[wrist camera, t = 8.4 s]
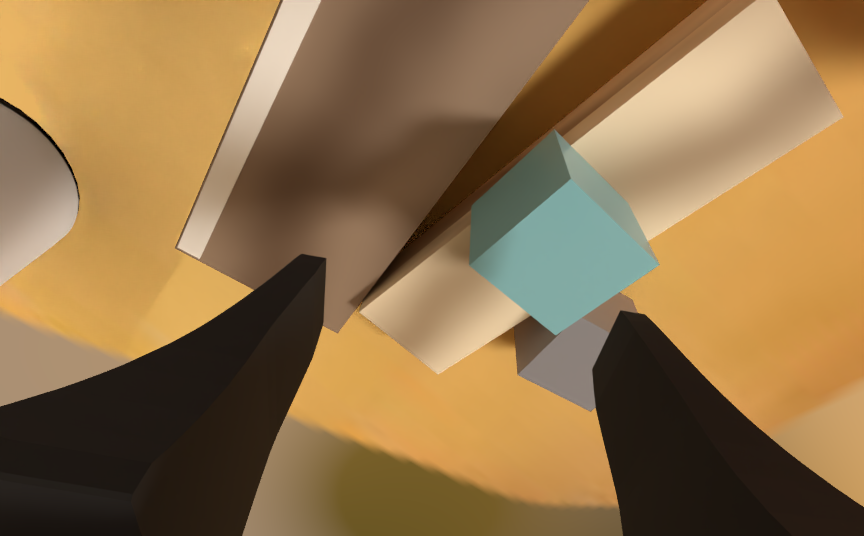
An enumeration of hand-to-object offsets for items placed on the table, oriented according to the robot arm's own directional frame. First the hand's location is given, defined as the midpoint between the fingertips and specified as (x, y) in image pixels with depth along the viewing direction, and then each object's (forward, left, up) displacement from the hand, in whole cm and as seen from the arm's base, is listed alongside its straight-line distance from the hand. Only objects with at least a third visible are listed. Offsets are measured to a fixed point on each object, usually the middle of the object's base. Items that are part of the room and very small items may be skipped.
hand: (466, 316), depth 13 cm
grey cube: (-6, +4, -8) cm, 11 cm away
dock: (+5, 0, -10) cm, 11 cm away
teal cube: (-3, -1, -7) cm, 8 cm away
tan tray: (-4, 0, -10) cm, 11 cm away
